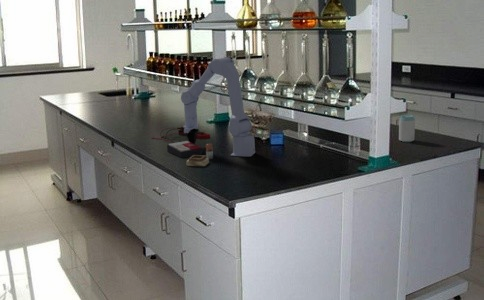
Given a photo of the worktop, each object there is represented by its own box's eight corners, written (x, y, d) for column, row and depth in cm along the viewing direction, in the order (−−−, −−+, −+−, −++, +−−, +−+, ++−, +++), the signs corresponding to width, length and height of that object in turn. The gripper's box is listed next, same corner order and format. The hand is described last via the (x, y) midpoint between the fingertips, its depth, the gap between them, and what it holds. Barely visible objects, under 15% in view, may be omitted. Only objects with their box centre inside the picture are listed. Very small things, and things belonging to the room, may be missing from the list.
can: (408, 143, 260) (409, 117, 257) (395, 141, 266) (396, 116, 263) (417, 140, 264) (418, 115, 262) (404, 138, 270) (405, 113, 267)
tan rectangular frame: (208, 162, 240) (208, 155, 240) (204, 166, 235) (204, 158, 234) (191, 162, 243) (190, 154, 242) (186, 165, 237) (186, 158, 237)
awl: (213, 157, 248) (213, 143, 247) (211, 159, 245) (210, 145, 244) (207, 157, 249) (206, 143, 247) (205, 159, 246) (204, 145, 245)
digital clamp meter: (184, 123, 306) (213, 129, 288) (185, 132, 307) (213, 138, 289) (148, 130, 291) (175, 137, 273) (148, 139, 292) (176, 146, 274)
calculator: (180, 150, 250) (166, 143, 262) (181, 160, 251) (167, 151, 263) (202, 146, 255) (187, 139, 267) (202, 155, 256) (188, 148, 269)
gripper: (188, 113, 273) (190, 141, 276) (177, 119, 259) (179, 148, 263) (202, 113, 271) (203, 141, 274) (191, 119, 257) (193, 148, 261)
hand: (192, 144), depth 268 cm, fingers closed
